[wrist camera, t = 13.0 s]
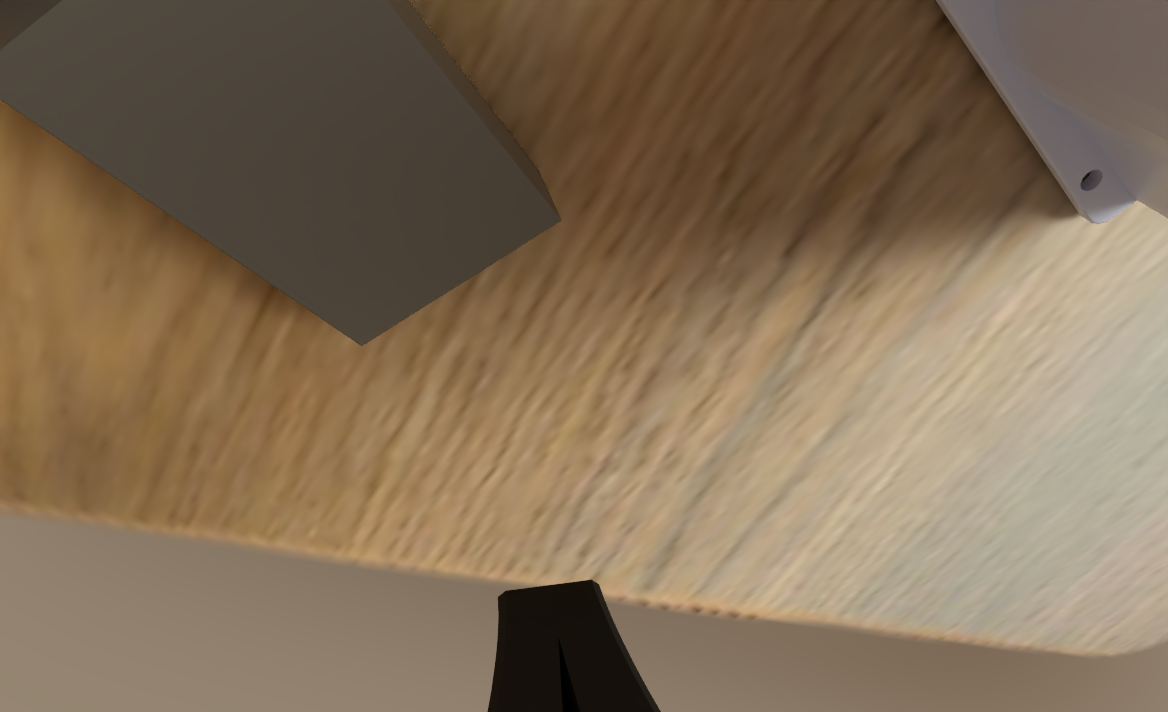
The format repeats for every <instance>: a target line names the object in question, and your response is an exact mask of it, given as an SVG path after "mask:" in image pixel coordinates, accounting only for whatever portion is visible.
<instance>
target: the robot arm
mask: <svg viewBox="0 0 1168 712" xmlns="http://www.w3.org/2000/svg"><path fill="white" fill-rule="evenodd" d="M936 2H937V3H938V4H939V6H940V7H941V9H942V10H943V12H944V13H945V15H946V16H947V18H948V19H949V21H950V22H951V24H952V25H953V27H954V28H955V30H956V31H957V33H958V34H959V36H960V37H961V39H962V40H963V42H964V43H965V45H966V46H967V48H968V49H969V51H970V52H971V54H972V55H973V57H974V58H975V60H976V61H977V62H978V64H979V65H980V67H981V68H982V70H983V71H984V73H985V74H986V76H987V77H988V79H989V80H990V82H991V83H992V85H993V86H994V88H995V89H996V91H997V92H998V94H999V95H1000V97H1001V98H1002V100H1003V101H1004V103H1005V104H1006V106H1007V107H1008V109H1009V110H1010V112H1011V113H1012V115H1013V116H1014V117H1015V119H1016V120H1017V122H1018V123H1019V125H1020V126H1021V128H1022V129H1023V131H1024V132H1025V134H1026V135H1027V137H1028V138H1029V140H1030V141H1031V143H1032V144H1033V146H1034V147H1035V149H1036V150H1037V152H1038V153H1039V155H1040V156H1041V158H1042V159H1043V161H1044V162H1045V164H1046V165H1047V167H1048V168H1049V170H1050V171H1051V172H1052V174H1053V175H1054V177H1055V178H1056V180H1057V181H1058V183H1059V184H1060V186H1061V187H1062V189H1063V190H1064V192H1065V193H1066V195H1067V196H1068V198H1069V199H1070V201H1071V202H1072V204H1073V205H1074V207H1075V208H1076V210H1077V211H1078V213H1079V214H1080V215H1081V216H1083V217H1084V218H1085V219H1087V220H1088V221H1090V222H1091V223H1095V224H1100V223H1104V222H1107V221H1109V220H1111V219H1112V218H1114V217H1115V216H1117V215H1118V214H1119V213H1121V212H1122V211H1123V210H1124V209H1126V208H1127V207H1128V206H1130V205H1131V204H1132V203H1133V202H1135V201H1136V200H1138V201H1140V202H1141V203H1143V204H1145V205H1146V206H1148V207H1150V208H1152V209H1153V210H1155V211H1157V212H1158V213H1160V214H1162V215H1163V216H1165V217H1167V218H1168V0H936ZM1090 171H1091V172H1090ZM1089 172H1090V175H1089V176H1088V178H1087V179H1086V180H1085V181H1083V182H1081V181H1082V179H1083V177H1084V176H1085V175H1086V174H1087V173H1089ZM498 611H499V622H498V623H499V624H498V641H497V652H496V661H495V669H494V676H493V683H492V691H491V696H490V702H489V708H488V712H661V711H660V710H659V708H658V706H657V704H656V703H655V701H654V699H653V698H652V696H651V694H650V692H649V691H648V689H647V687H646V685H645V684H644V682H643V680H642V678H641V676H640V674H639V672H638V671H637V669H636V667H635V665H634V663H633V661H632V659H631V657H630V655H629V653H628V651H627V649H626V647H625V645H624V643H623V641H622V639H621V637H620V634H619V632H618V630H617V628H616V626H615V624H614V622H613V619H612V617H611V615H610V612H609V610H608V607H607V605H606V602H605V600H604V597H603V595H602V592H601V589H600V586H599V584H598V583H596V582H594V581H593V580H586V581H579V582H571V583H563V584H555V585H548V586H540V587H532V588H525V589H517V590H509V591H505V592H504V593H503V594H501V595H500V596H499V597H498Z"/></svg>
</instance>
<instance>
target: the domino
mask: <svg viewBox="0 0 1168 712" xmlns="http://www.w3.org/2000/svg"><path fill="white" fill-rule="evenodd" d="M0 100H2V101H3V102H5V103H6V104H8V105H9V106H11V107H12V108H14V109H15V110H17V111H18V112H19V113H21V114H22V115H24V116H25V117H27V118H28V119H30V120H31V121H33V122H34V123H36V124H37V125H39V126H40V127H41V128H43V129H44V130H46V131H47V132H49V133H50V134H52V135H53V136H55V137H56V138H58V139H59V140H61V141H62V142H63V143H65V144H66V145H68V146H69V147H71V148H72V149H74V150H75V151H77V152H78V153H80V154H81V155H82V156H84V157H85V158H87V159H88V160H90V161H91V162H93V163H94V164H96V165H97V166H99V167H100V168H102V169H103V170H104V171H106V172H107V173H109V174H110V175H112V176H113V177H115V178H116V179H118V180H119V181H121V182H122V183H124V184H125V185H126V186H128V187H129V188H131V189H132V190H134V191H135V192H137V193H138V194H140V195H141V196H143V197H144V198H145V199H147V200H148V201H150V202H151V203H153V204H154V205H156V206H157V207H159V208H160V209H162V210H163V211H165V212H166V213H167V214H169V215H170V216H172V217H173V218H175V219H176V220H178V221H179V222H181V223H182V224H184V225H185V226H187V227H188V228H189V229H191V230H192V231H194V232H195V233H197V234H198V235H200V236H201V237H203V238H204V239H206V240H207V241H209V242H210V243H211V244H213V245H214V246H216V247H217V248H219V249H220V250H222V251H223V252H225V253H226V254H228V255H229V256H230V257H232V258H233V259H235V260H236V261H238V262H239V263H241V264H242V265H244V266H245V267H247V268H248V269H250V270H251V271H252V272H254V273H255V274H257V275H258V276H260V277H261V278H263V279H264V280H266V281H267V282H269V283H270V284H272V285H273V286H274V287H276V288H277V289H279V290H280V291H282V292H283V293H285V294H286V295H288V296H289V297H291V298H292V299H293V300H295V301H296V302H298V303H299V304H301V305H302V306H304V307H305V308H307V309H308V310H310V311H311V312H313V313H314V314H315V315H317V316H318V317H320V318H321V319H323V320H324V321H326V322H327V323H329V324H330V325H332V326H333V327H335V328H336V329H337V330H339V331H340V332H342V333H343V334H345V335H346V336H348V337H349V338H351V339H352V340H354V341H355V342H356V343H358V344H359V345H361V346H363V345H364V344H366V343H367V342H369V341H371V340H372V339H374V338H375V337H377V336H379V335H380V334H382V333H383V332H385V331H386V330H388V329H390V328H391V327H393V326H394V325H396V324H398V323H399V322H401V321H402V320H404V319H405V318H407V317H409V316H410V315H412V314H413V313H415V312H417V311H418V310H420V309H421V308H423V307H425V306H426V305H428V304H429V303H431V302H432V301H434V300H436V299H437V298H439V297H440V296H442V295H444V294H445V293H447V292H448V291H450V290H452V289H453V288H455V287H456V286H458V285H459V284H461V283H463V282H464V281H466V280H467V279H469V278H471V277H472V276H474V275H475V274H477V273H479V272H480V271H482V270H483V269H485V268H486V267H488V266H490V265H491V264H493V263H494V262H496V261H498V260H499V259H501V258H502V257H504V256H506V255H507V254H509V253H510V252H512V251H513V250H515V249H517V248H518V247H520V246H521V245H523V244H525V243H526V242H528V241H529V240H531V239H533V238H534V237H536V236H537V235H539V234H540V233H542V232H544V231H545V230H547V229H548V228H550V227H552V226H553V225H555V224H556V223H558V222H559V221H561V218H560V216H559V214H558V212H557V210H556V207H555V205H554V203H553V201H552V199H551V196H550V194H549V192H548V190H547V188H546V185H545V183H544V181H543V179H542V177H541V174H540V172H539V170H538V169H537V168H536V166H535V165H534V164H533V163H532V161H531V160H530V159H529V157H528V156H527V155H526V153H525V152H524V151H523V150H522V148H521V147H520V146H519V144H518V143H517V142H516V140H515V139H514V138H513V137H512V135H511V134H510V133H509V131H508V130H507V129H506V127H505V126H504V125H503V124H502V122H501V121H500V120H499V118H498V117H497V116H496V114H495V113H494V112H493V111H492V109H491V108H490V107H489V105H488V104H487V103H486V101H485V100H484V99H483V98H482V96H481V95H480V94H479V92H478V91H477V90H476V88H475V87H474V86H473V85H472V83H471V82H470V81H469V79H468V78H467V77H466V75H465V74H464V73H463V72H462V70H461V69H460V68H459V66H458V65H457V64H456V62H455V61H454V60H453V59H452V57H451V56H450V55H449V53H448V52H447V51H446V49H445V48H444V47H443V46H442V44H441V43H440V42H439V40H438V39H437V38H436V36H435V35H434V34H433V33H432V31H431V30H430V29H429V27H428V26H427V25H426V23H425V22H424V21H423V20H422V18H421V17H420V16H419V14H418V13H417V12H416V10H415V9H414V8H413V7H412V5H411V4H410V3H409V1H408V0H0Z"/></svg>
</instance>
